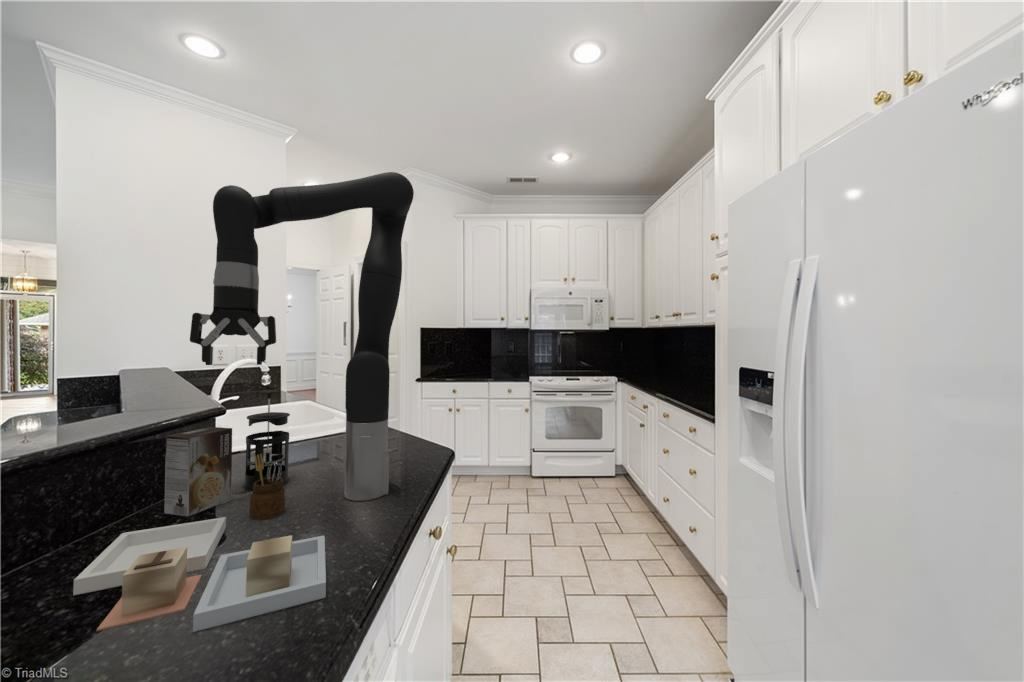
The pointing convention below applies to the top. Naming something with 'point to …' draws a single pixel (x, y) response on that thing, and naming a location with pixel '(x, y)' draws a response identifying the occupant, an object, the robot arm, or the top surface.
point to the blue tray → (231, 604)
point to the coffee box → (197, 470)
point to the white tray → (151, 551)
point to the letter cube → (154, 581)
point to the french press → (276, 442)
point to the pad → (180, 605)
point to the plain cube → (269, 565)
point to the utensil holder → (267, 495)
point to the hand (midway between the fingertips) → (234, 364)
